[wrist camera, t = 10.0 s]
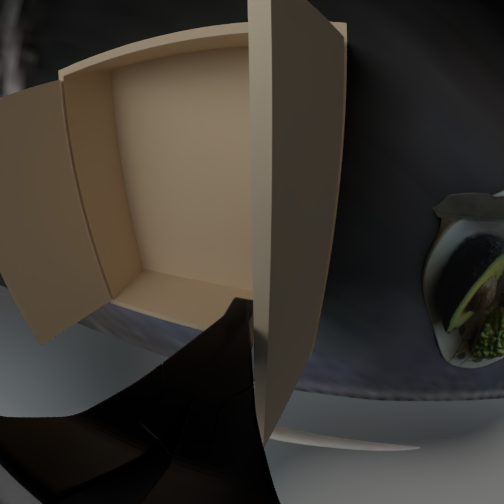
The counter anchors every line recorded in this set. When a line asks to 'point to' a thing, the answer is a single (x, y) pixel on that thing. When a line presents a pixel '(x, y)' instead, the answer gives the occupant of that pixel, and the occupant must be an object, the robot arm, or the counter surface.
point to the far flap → (43, 217)
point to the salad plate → (467, 279)
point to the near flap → (290, 187)
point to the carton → (169, 170)
